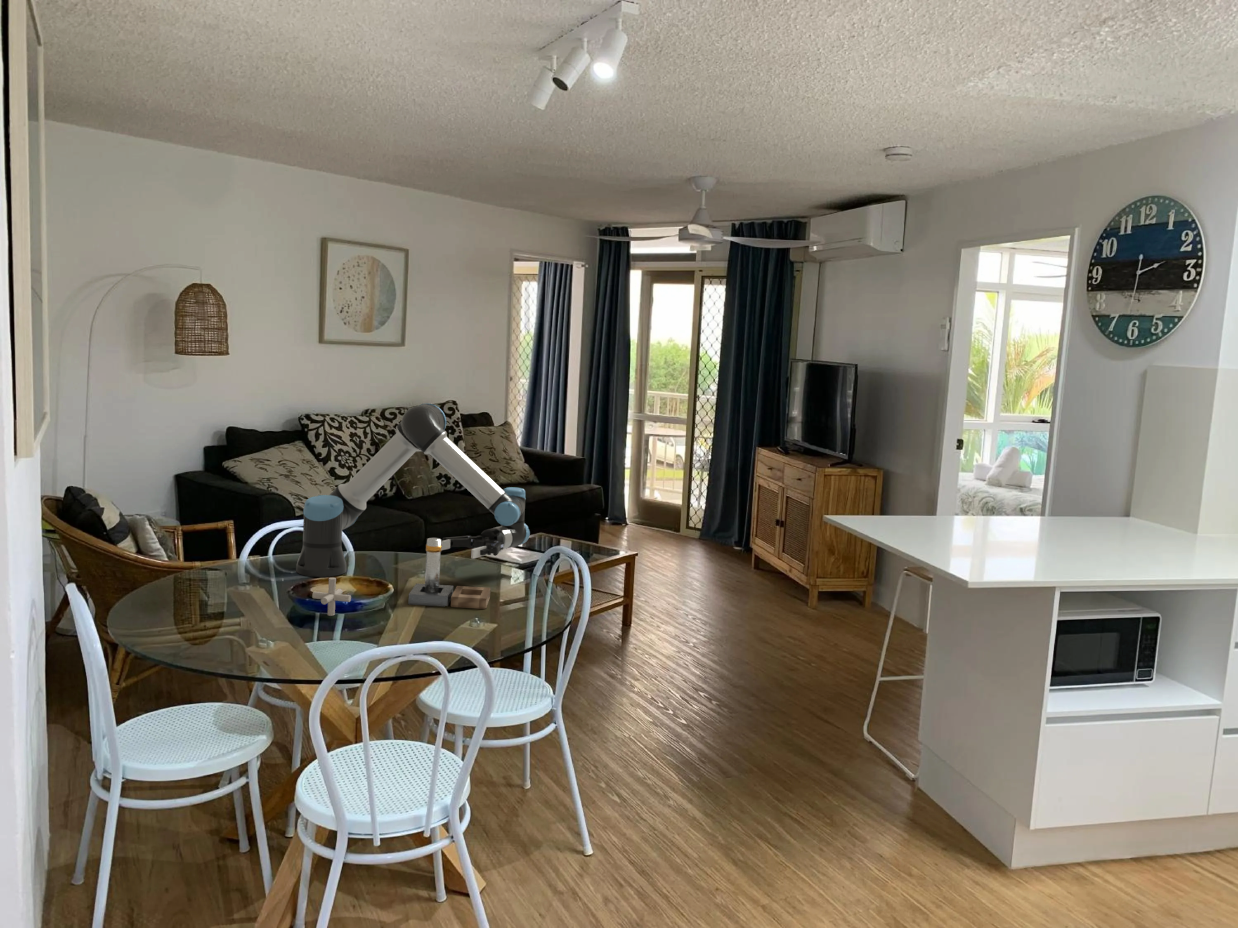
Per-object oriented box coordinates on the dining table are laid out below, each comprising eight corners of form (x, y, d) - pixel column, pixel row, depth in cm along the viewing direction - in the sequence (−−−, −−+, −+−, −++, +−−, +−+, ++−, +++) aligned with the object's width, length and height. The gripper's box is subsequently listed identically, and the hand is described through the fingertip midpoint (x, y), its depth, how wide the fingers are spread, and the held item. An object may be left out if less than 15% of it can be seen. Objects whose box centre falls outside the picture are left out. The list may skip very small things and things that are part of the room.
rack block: (450, 606, 261) (451, 596, 261) (456, 595, 273) (456, 585, 272) (485, 608, 261) (486, 598, 261) (489, 597, 273) (490, 587, 273)
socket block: (408, 604, 260) (408, 594, 260) (415, 593, 272) (416, 583, 272) (447, 606, 261) (447, 596, 261) (452, 595, 273) (453, 585, 272)
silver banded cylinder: (422, 601, 264) (425, 540, 262) (424, 597, 269) (427, 537, 266) (437, 602, 264) (440, 541, 262) (439, 598, 269) (443, 538, 267)
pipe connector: (356, 611, 250) (357, 575, 249) (341, 621, 240) (343, 584, 239) (321, 607, 251) (322, 572, 250) (305, 617, 241) (306, 581, 240)
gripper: (527, 557, 287) (487, 569, 268) (463, 545, 298) (420, 556, 280) (528, 533, 286) (488, 544, 268) (464, 522, 298) (421, 532, 279)
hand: (453, 550), depth 274 cm, fingers open, 13 cm apart
